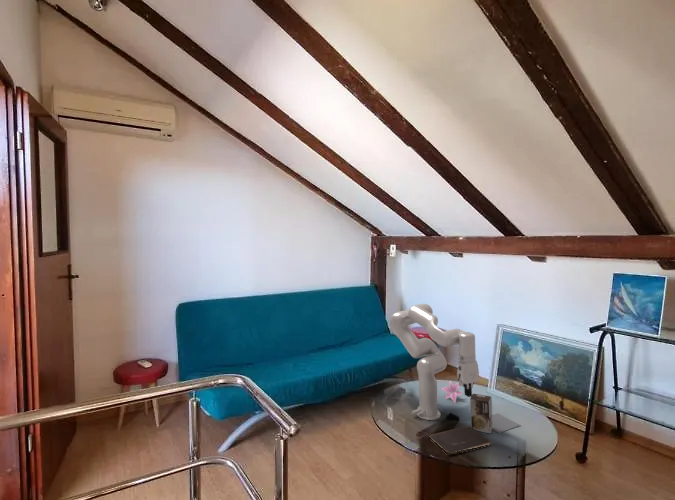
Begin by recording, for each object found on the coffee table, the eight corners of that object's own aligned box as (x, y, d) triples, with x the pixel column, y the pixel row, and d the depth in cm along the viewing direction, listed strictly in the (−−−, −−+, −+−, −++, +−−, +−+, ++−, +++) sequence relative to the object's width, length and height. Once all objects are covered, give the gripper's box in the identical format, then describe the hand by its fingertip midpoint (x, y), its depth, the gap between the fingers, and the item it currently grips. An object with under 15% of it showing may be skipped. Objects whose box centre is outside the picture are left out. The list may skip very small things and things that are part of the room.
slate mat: (499, 433, 184) (499, 432, 184) (477, 420, 197) (477, 419, 197) (520, 425, 191) (520, 425, 191) (497, 413, 203) (497, 413, 203)
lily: (440, 395, 229) (437, 385, 225) (456, 386, 231) (453, 375, 227) (452, 410, 219) (449, 399, 214) (469, 399, 221) (466, 388, 216)
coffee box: (492, 427, 189) (491, 396, 188) (490, 434, 184) (489, 402, 182) (474, 423, 194) (472, 392, 193) (471, 429, 188) (469, 398, 187)
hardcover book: (490, 446, 175) (490, 441, 174) (448, 457, 167) (448, 452, 167) (467, 429, 190) (467, 425, 189) (428, 439, 182) (428, 434, 182)
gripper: (461, 363, 176) (462, 402, 176) (484, 357, 182) (485, 395, 183) (449, 358, 182) (450, 396, 183) (473, 353, 189) (473, 389, 190)
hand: (468, 395), depth 183 cm, fingers closed
